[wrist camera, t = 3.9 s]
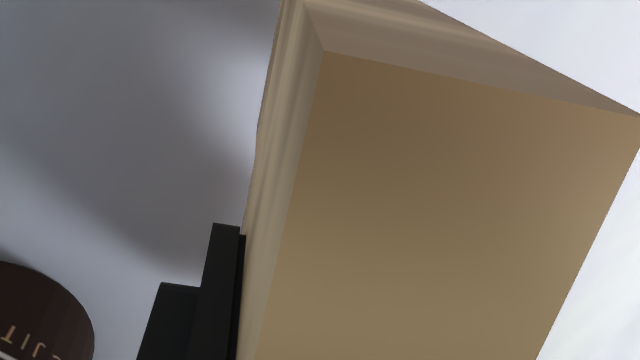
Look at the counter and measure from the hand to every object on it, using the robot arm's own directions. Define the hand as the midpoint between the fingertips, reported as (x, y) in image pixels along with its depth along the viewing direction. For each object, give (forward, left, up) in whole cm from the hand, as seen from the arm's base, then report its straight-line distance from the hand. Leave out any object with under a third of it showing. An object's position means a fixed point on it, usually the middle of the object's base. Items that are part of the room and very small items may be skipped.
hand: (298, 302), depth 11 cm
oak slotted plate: (0, 0, -5) cm, 5 cm away
